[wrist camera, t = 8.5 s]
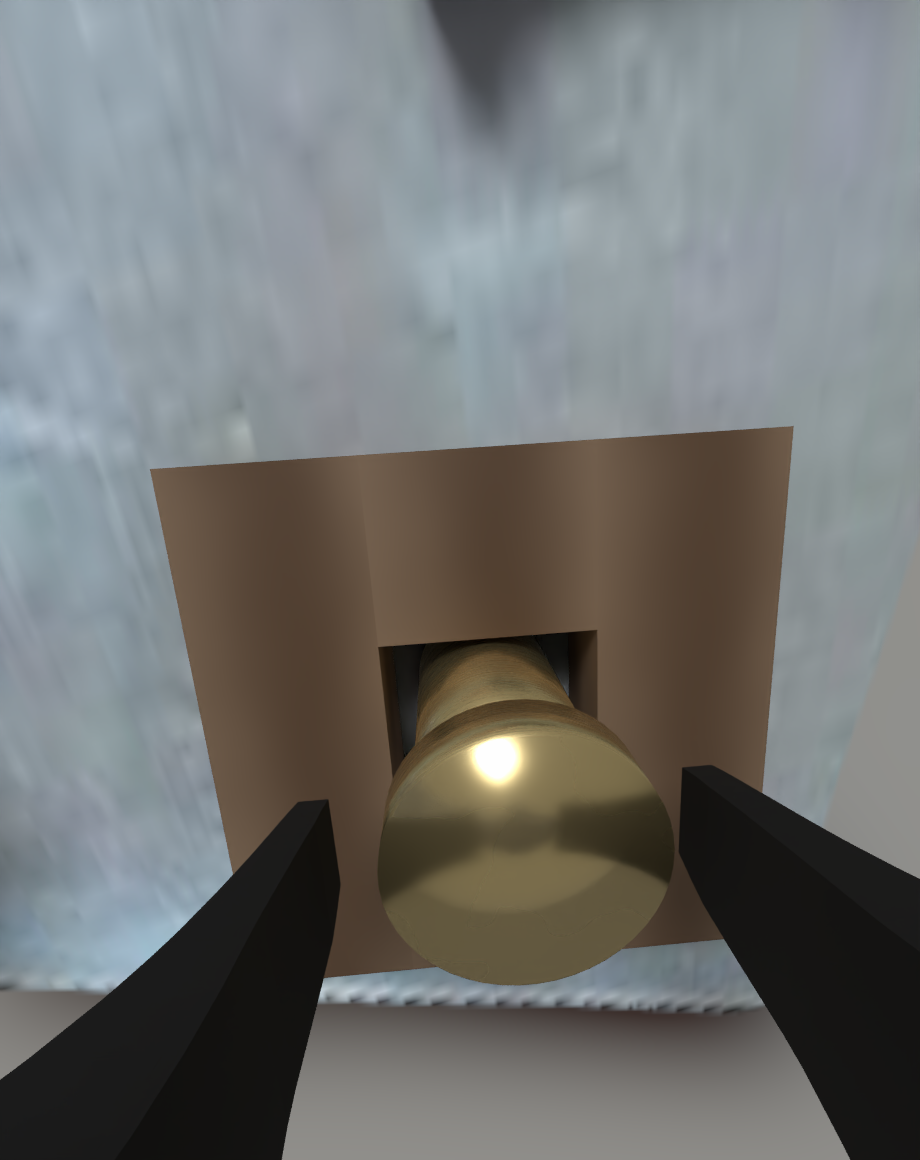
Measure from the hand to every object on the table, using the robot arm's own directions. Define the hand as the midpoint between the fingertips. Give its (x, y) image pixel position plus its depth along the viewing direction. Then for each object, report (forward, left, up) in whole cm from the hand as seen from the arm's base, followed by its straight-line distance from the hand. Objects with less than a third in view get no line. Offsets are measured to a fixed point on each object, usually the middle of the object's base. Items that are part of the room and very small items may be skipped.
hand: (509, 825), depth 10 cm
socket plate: (0, 0, -6) cm, 6 cm away
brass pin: (0, +1, -6) cm, 6 cm away
